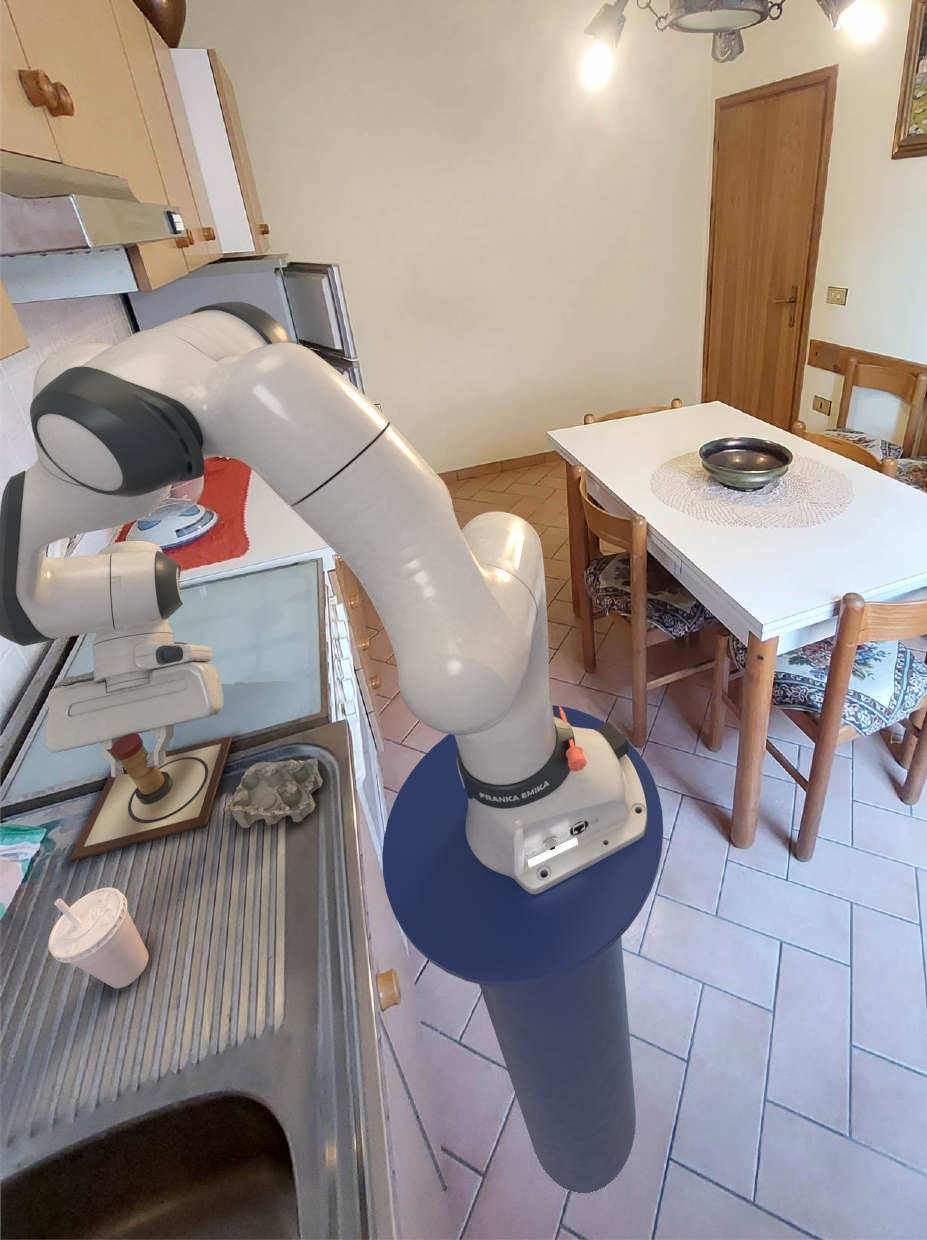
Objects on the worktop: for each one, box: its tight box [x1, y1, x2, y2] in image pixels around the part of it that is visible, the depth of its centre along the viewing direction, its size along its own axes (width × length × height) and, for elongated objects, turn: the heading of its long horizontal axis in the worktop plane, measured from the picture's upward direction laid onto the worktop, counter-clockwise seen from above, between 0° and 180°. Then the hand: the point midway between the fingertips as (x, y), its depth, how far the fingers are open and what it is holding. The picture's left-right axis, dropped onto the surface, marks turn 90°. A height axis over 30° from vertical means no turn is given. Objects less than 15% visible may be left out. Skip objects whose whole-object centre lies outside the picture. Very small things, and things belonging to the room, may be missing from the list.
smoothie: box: [47, 887, 149, 989], centre depth 61 cm, size 6×6×14 cm
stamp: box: [111, 733, 173, 805], centre depth 78 cm, size 4×4×9 cm
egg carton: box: [222, 757, 323, 829], centre depth 79 cm, size 11×8×4 cm
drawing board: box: [69, 735, 234, 862], centre depth 82 cm, size 16×14×1 cm
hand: (139, 771), depth 77 cm, fingers closed on stamp, 3 cm apart
